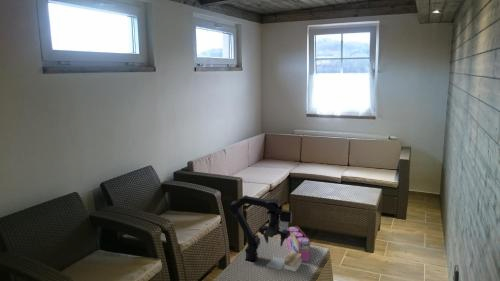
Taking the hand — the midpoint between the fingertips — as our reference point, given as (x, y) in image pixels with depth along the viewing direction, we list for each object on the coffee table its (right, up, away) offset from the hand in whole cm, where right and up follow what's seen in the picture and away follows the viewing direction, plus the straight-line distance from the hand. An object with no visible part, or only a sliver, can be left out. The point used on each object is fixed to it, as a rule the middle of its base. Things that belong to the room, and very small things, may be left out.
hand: (274, 244), depth 227 cm
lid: (+11, -9, -3) cm, 15 cm away
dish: (+11, -13, -2) cm, 17 cm away
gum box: (+16, -10, +14) cm, 24 cm away
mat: (+2, -12, +1) cm, 12 cm away
